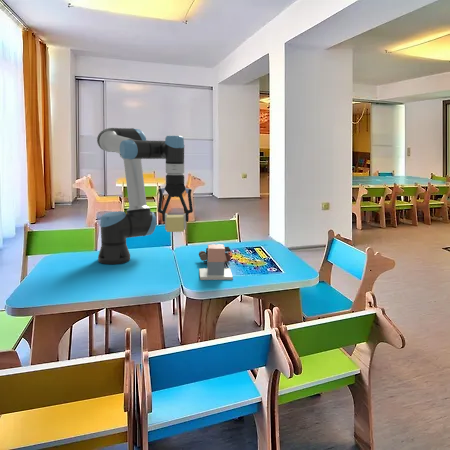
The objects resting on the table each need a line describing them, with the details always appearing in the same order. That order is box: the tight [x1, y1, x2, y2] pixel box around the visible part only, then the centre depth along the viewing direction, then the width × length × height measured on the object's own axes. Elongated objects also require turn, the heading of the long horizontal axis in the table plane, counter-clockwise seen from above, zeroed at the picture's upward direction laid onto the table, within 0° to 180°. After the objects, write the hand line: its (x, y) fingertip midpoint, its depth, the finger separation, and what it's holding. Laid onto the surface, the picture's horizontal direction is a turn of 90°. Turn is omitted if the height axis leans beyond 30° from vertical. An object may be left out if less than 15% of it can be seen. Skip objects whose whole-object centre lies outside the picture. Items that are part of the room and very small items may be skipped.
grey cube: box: [206, 257, 225, 275], centre depth 179 cm, size 7×7×6 cm
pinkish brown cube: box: [207, 243, 226, 262], centre depth 177 cm, size 7×7×6 cm
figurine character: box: [198, 246, 232, 265], centre depth 198 cm, size 7×8×15 cm
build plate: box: [198, 267, 234, 281], centre depth 179 cm, size 14×12×1 cm
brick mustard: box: [166, 214, 185, 233], centre depth 170 cm, size 7×7×6 cm
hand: (175, 229), depth 170 cm, fingers closed on brick mustard, 7 cm apart
